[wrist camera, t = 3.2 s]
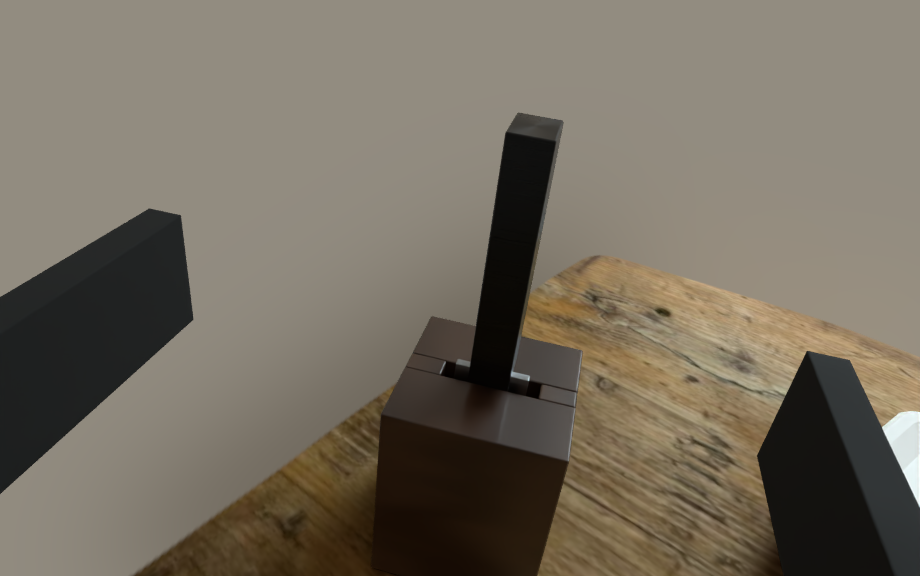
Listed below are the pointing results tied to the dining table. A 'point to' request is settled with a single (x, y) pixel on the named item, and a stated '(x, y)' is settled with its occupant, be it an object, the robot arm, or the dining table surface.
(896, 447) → the plate
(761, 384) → the dining table surface
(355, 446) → the dining table surface
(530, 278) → the knife
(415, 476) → the knife block
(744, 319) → the dining table surface
